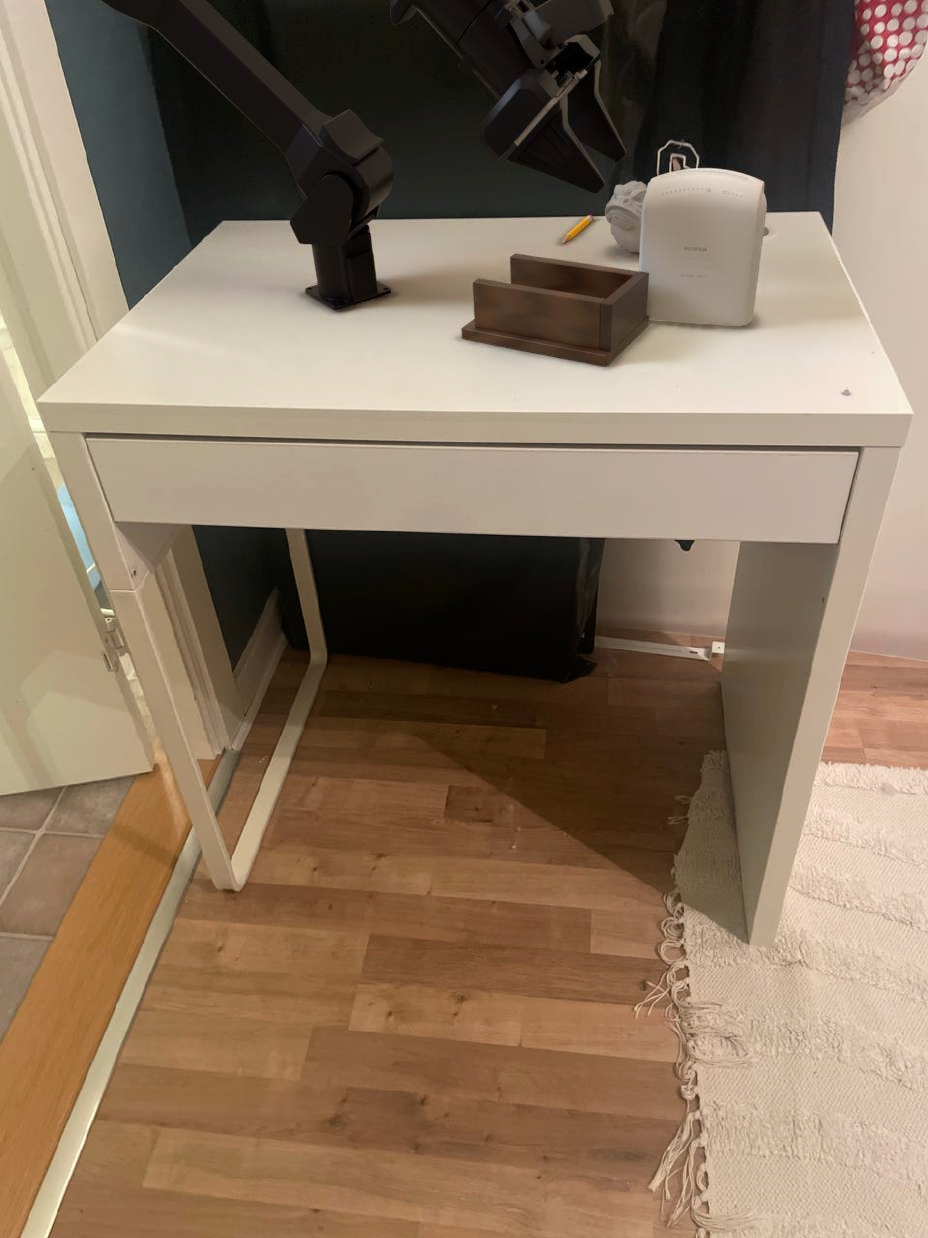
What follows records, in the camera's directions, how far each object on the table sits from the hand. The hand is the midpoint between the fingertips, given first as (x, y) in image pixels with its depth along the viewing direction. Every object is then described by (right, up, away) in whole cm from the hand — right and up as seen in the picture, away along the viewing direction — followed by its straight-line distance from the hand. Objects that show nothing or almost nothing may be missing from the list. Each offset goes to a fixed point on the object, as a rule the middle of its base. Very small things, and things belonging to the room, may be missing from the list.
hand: (612, 172), depth 79 cm
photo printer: (+8, -11, +6) cm, 14 cm away
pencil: (0, +5, +25) cm, 26 cm away
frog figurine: (+5, +1, +19) cm, 20 cm away
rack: (-4, -12, +5) cm, 14 cm away
